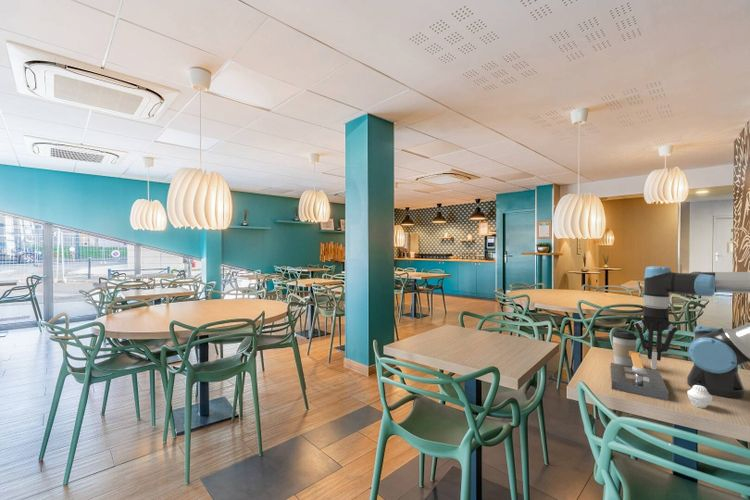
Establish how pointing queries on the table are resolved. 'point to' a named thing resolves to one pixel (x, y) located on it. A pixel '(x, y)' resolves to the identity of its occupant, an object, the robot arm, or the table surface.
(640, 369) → the swing arm
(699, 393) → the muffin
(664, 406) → the table surface
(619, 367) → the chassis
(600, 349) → the table surface
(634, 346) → the coffee cup
